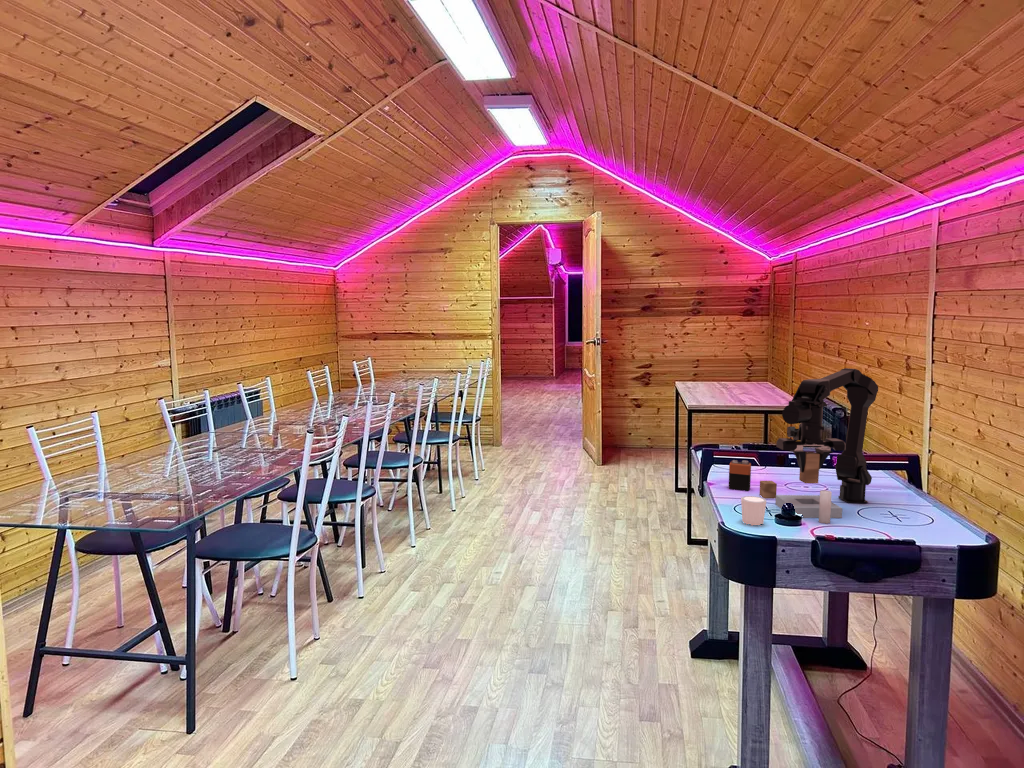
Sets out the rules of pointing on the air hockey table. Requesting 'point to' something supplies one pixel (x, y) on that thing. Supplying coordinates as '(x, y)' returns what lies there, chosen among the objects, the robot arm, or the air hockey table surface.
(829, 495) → the gauge block
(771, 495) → the short brown block
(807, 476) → the brown rectangular block
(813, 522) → the air hockey table surface
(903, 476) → the air hockey table surface
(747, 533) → the air hockey table surface
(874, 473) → the air hockey table surface
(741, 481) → the battery
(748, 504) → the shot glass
